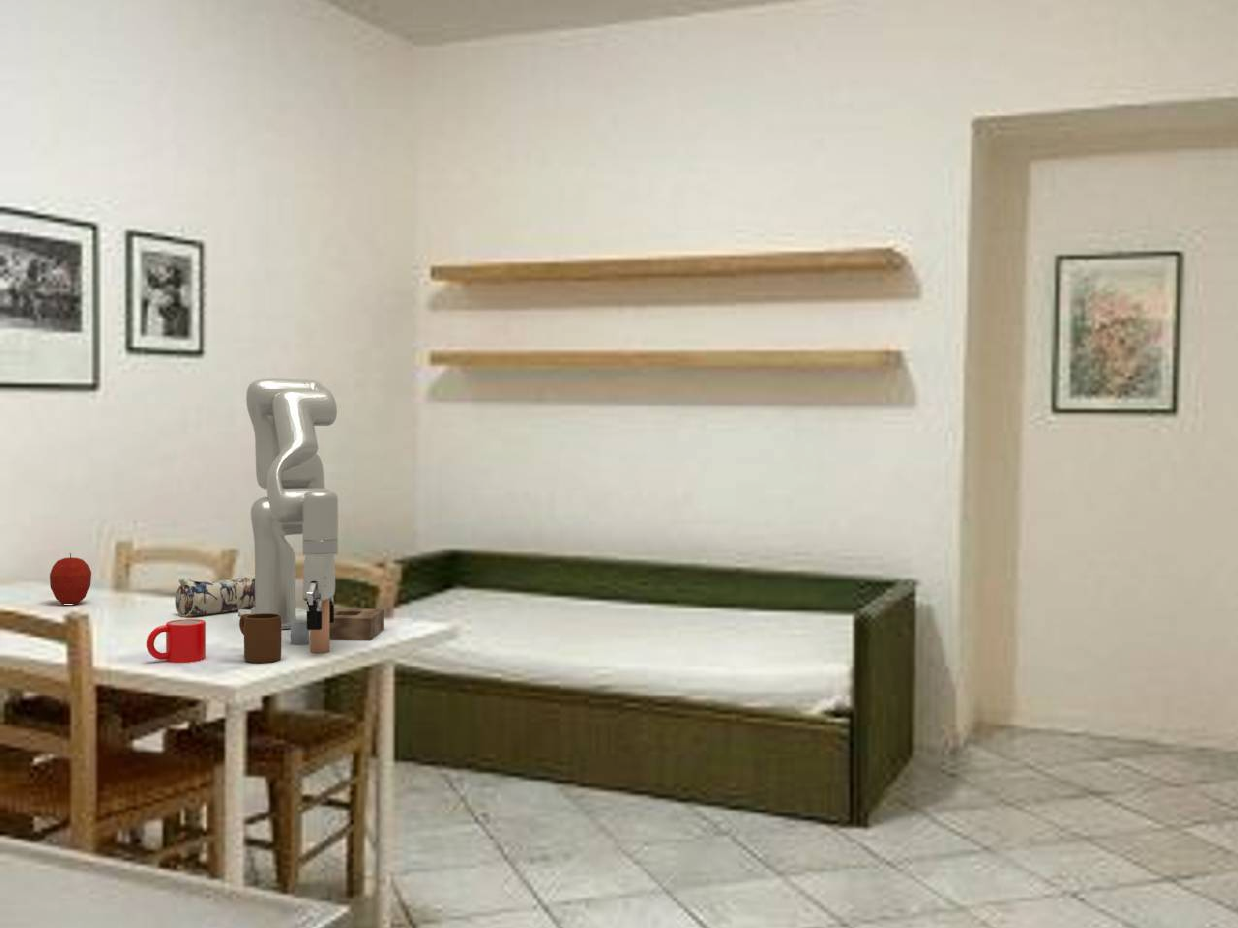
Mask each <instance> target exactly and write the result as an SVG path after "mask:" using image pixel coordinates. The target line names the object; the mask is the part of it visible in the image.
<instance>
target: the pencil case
mask: <svg viewBox="0 0 1238 928" xmlns="http://www.w3.org/2000/svg"><path fill="white" fill-rule="evenodd" d="M178 583H179V586H178V587H177V589H176V592H175V610H176V612H177V614H178V615H179V616H181V617H182V618H190V617H191V618H192V617H199V616H200V617H202V616H207V615H214V614H221V613H223V614H224V613H229V612H236V611H238V610H239V609H251V608H253V607H255V574H247V575H244V576H242V577H240V578H236V579H221V580H201V581H200V580H196V579H191V578H188V579H187V580H185V578H178Z"/></svg>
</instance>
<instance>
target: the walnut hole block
mask: <svg viewBox="0 0 1238 928" xmlns="http://www.w3.org/2000/svg"><path fill="white" fill-rule="evenodd" d="M384 629H385V608H361V607H360V608H359V607H358V608H355V607H354V608H350V607H334V622H333V623H329V640H337V641H338V640H339V641H341V640H343V641H344V640H345V641H346V640H347V641H372V640H373V639H374V638H376V637H377V636H378V635H380V634H381V632H383V631H384Z"/></svg>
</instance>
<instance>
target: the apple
mask: <svg viewBox="0 0 1238 928" xmlns="http://www.w3.org/2000/svg"><path fill="white" fill-rule="evenodd" d="M71 553H72V552H69V557H64V558H63V557H62V558H61V559H58V560H57V561H56V562H55V563H54V565H53V566H52V568H51V571H50V574H49V581H50V585H49V586H50V589H51V591H52V593H53V596H54V598H55V599H56V600H57V602H59V603H60V604H61V603H62V604H76V605H78V603H79V604H80V603H81V602H82V601H83V600H84V599H85V598H86V597H87V595H88V592H89V590H90V587H91V580H92V571H91V569H90V565H89V564H88V563H87V562H86V561H85V560H84V559H82V558H80V557H72V554H71ZM62 604H61V605H62Z"/></svg>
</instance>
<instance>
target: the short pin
mask: <svg viewBox="0 0 1238 928" xmlns="http://www.w3.org/2000/svg"><path fill="white" fill-rule="evenodd" d="M308 644H310V630H307V619H301V620H293V621H291V628H290V645H294V646H304V645H308Z"/></svg>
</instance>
